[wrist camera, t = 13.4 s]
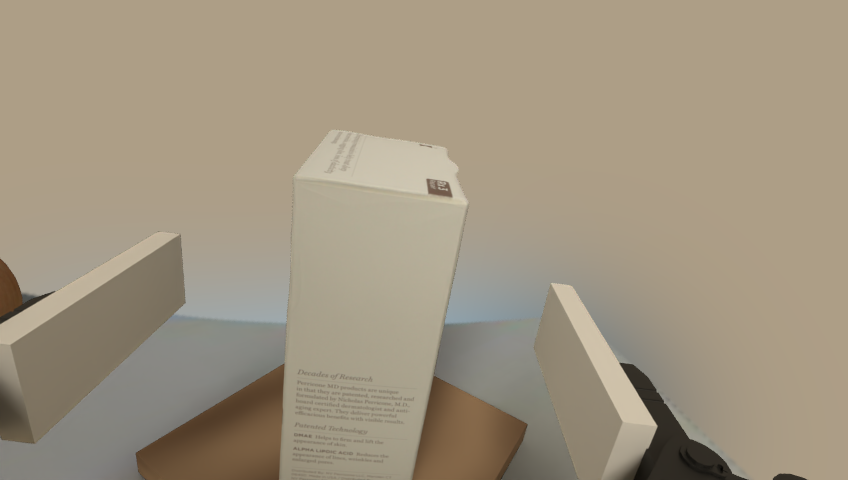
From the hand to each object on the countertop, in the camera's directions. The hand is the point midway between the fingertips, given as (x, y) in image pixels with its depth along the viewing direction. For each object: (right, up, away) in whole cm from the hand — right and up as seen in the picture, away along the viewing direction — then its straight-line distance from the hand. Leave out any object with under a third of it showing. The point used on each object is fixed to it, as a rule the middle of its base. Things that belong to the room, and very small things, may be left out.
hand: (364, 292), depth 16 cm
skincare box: (-1, -8, +7) cm, 11 cm away
